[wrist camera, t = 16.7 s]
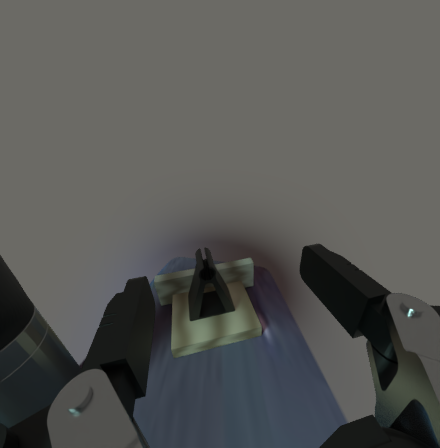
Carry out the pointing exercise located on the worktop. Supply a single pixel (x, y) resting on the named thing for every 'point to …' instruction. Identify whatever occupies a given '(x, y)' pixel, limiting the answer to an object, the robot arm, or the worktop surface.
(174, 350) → the wall board
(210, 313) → the phone stand
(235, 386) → the worktop surface
